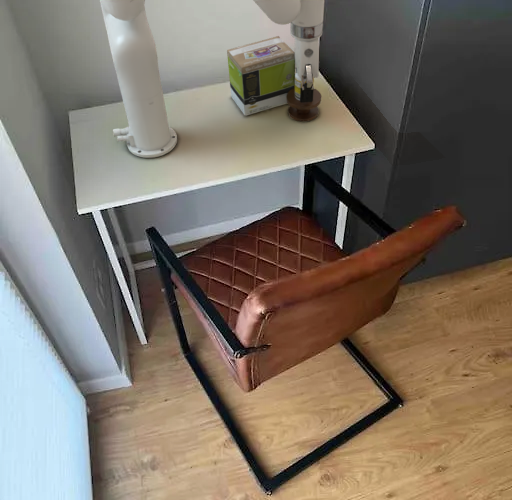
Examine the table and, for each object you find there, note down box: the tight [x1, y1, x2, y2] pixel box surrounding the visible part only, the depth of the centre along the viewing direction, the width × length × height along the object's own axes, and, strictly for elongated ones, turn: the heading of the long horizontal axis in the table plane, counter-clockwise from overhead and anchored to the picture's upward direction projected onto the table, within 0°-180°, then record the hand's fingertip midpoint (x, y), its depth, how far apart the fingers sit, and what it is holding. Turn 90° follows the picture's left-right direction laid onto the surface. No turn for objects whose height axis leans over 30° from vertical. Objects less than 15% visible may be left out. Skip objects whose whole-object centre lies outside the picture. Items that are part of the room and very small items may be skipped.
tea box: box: [226, 35, 296, 117], centre depth 151 cm, size 15×10×15 cm
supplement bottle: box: [295, 69, 315, 100], centre depth 146 cm, size 5×5×8 cm
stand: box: [286, 88, 322, 123], centre depth 151 cm, size 9×9×5 cm
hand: (303, 91), depth 148 cm, fingers open, 8 cm apart
